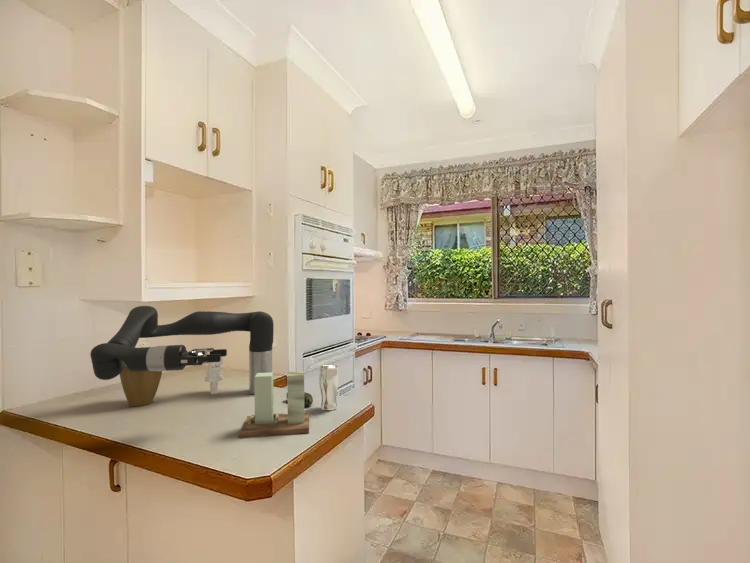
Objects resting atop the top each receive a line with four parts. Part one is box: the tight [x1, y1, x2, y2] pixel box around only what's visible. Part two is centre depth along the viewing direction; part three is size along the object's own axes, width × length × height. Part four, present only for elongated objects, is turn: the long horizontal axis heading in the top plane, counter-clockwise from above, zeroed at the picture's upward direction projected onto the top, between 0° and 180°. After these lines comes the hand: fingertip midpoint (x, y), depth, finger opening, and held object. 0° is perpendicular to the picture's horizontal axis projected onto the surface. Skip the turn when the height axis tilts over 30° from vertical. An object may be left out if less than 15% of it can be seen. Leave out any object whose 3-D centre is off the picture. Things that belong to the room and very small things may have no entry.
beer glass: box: [318, 364, 340, 411], centre depth 138 cm, size 7×7×15 cm
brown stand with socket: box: [239, 371, 310, 439], centre depth 121 cm, size 14×20×16 cm
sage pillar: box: [254, 371, 274, 423], centre depth 121 cm, size 5×5×15 cm
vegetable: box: [286, 391, 314, 407], centre depth 144 cm, size 14×5×5 cm, turn 44°
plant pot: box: [119, 365, 163, 407], centre depth 145 cm, size 15×15×16 cm
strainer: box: [204, 356, 224, 395], centre depth 159 cm, size 7×7×15 cm
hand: (223, 355), depth 118 cm, fingers open, 8 cm apart
